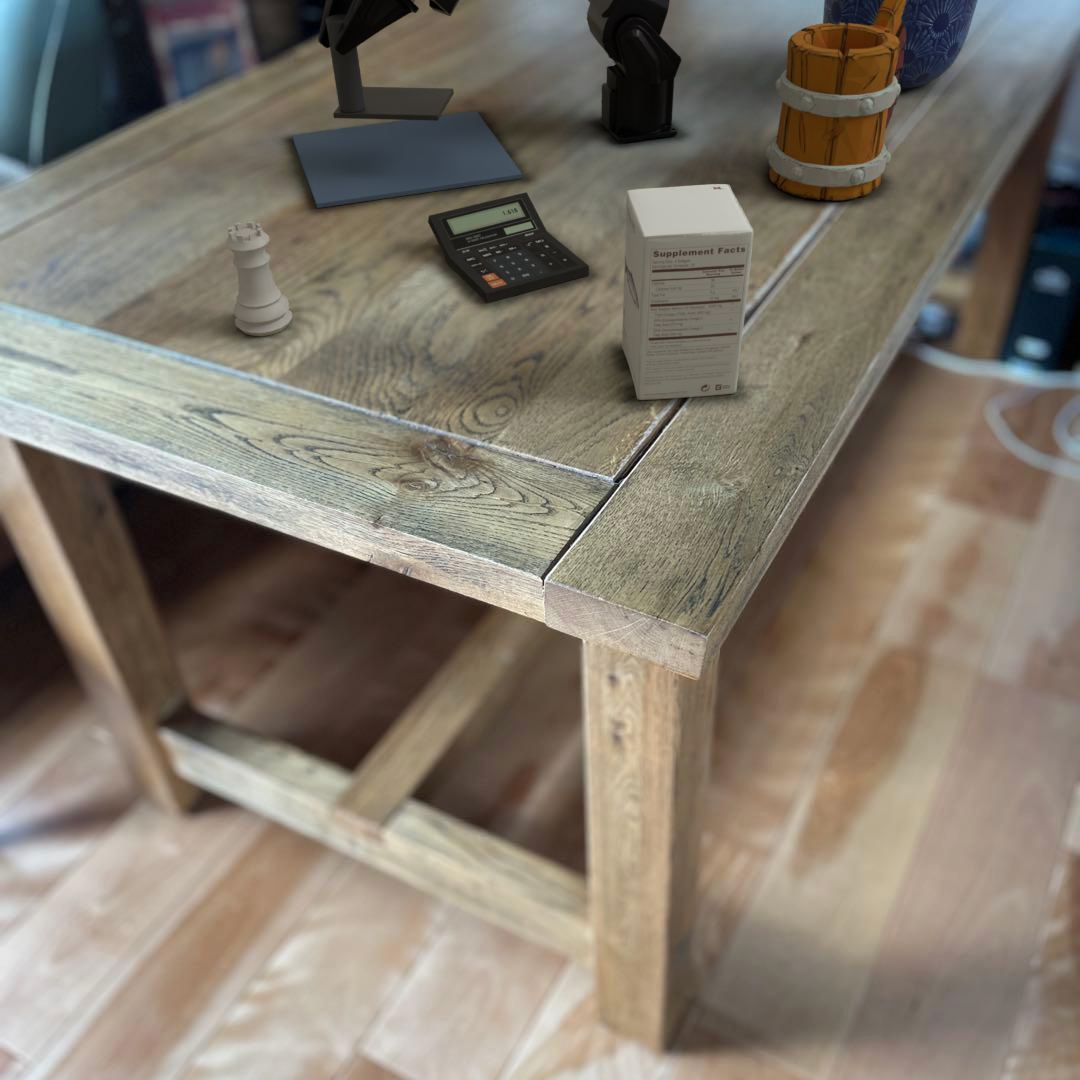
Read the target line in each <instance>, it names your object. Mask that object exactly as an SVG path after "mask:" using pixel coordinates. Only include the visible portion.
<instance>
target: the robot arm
mask: <svg viewBox="0 0 1080 1080" xmlns="http://www.w3.org/2000/svg"><path fill="white" fill-rule="evenodd" d="M415 1H416V0H325V4H324V7H323V14H322V19H321V23H320V27H319V28H320V29H319V33H318V39H317V42H318V43H319V44H320V45H321V46H322V47H324V48H325V49H330V44H329V37H328V31H327V24H326V18H327V17H329V16H331V15H336V14H347V15H346V17H345V20H344V22H343V24H342V26H341V29H340V31H339V33H338V36H337V39H336V42H335V44H334V50H335V51H337V52H338V53H339V54H340V55H345V54H347V53H348V52H350V51H351V50H353V49H354V48H356V47H357V48H358V47H359V46H360V45H362V44H363V43H364V42H366V41H368V40H369V39H370V38H372V37H374V36H375V35H376V34H378V33H379V32H381V31H382V30H384V29H386V28H387V27H389V26H391V25H392V24H394V23H396V22H397V21H399V20H401V19H403V18H404V17H406V16H408V15H410V14H411V13H413V14H416V13H418V11H419V10H420V8H419V6H418V5H417V4H415ZM587 1H588V2H589V6H588V8H587V12H586V21H587V25H588V28H589V32H590V33H591V35H592V36H593V38H594V39H595V40H596V42H597V43H598V44H599V46H600V47H601V48H602V49H603V50H604V52H605V53H606V55H607V56H608V58H609V59H611V60H612V61H613V62H614V64H613V65H608V66H606V82H603V83H602V85H601V112H600V113H601V114H600V115H601V117H600V124H602V126H603V127H604V128H605V129H606V130H607V131H608V132H609V133H610V134H611V136H613V137H614V138H615V139H616V140H617V141H618V142H619V143H628V142H636V141H642V140H643V141H644V140H650V139H651V140H652V139H658V138H665V137H671V136H676V135H678V133H679V129H678V128H677V127H676V126H675V125H674V124H673V112H674V111H673V109H674V108H673V107H674V92H675V91H674V90H675V79H676V76H677V74H678V71H679V67H680V65H681V63H682V57H681V56H680V55H679V53H678V52H676V51H675V50H674V49H673V47H672V46H671V45H670V44H669V43H668V42H667V41H666V40H665V39H664V38H663V36H661V34H662V30H663V28H664V25H665V22H666V19H667V15H668V14H669V13H668V12H669V8H670V2H671V1H670V0H587ZM459 2H460V0H428V5H429V7H430V8H431V9H432V11H435V12H438V13H439V14H442V15H445V16H448V17H451V16H452V14H453V12H454V11H455V10H456V7H457V5H458V4H459Z"/></svg>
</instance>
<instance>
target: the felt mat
mask: <svg viewBox="0 0 1080 1080" xmlns="http://www.w3.org/2000/svg"><path fill="white" fill-rule="evenodd" d="M291 139H292V142H293V144H294V148H295V151H296V153H297V156H298V158H299V162H300V164H301V168H302V170H303V173H304V176H305V178H306V181H307V184H308V187H309V189H310V193H311V195H312V198H313V201H314V203H315V206H316V209H322V208H329V207H335V206H336V207H337V206H343V205H344V206H345V205H350V204H356V203H364V202H369V201H370V202H371V201H377V200H383V199H391V198H398V197H404V196H413V195H419V194H425V193H433V192H438V191H445V190H446V191H447V190H453V189H459V188H467V187H473V186H481V185H488V184H494V183H500V182H508V181H514V180H515V181H516V180H522V179H523V172H522V171H521V170H520V168H519V167H518V166H517V164H516V163H515V162H514V161H513V159H512V157H511V156H510V155H509V154H508V152H507V150H506V149H505V147H503V145H502V144H501V143H500V141H499V140H498V138H497V137H496V136H495V134H494V133H493V132H492V130H491V129H490V128H489V126H488V125H487V123H486V122H485V120H484V119H483V118H482V117H481V115H480V114H479V112H478V111H477V110H472V111H464V112H456V113H449V114H441V116H440V118H439V120H438V121H434V120H394V121H387V122H381V123H380V122H379V123H373V124H365V125H357V126H351V127H350V126H349V127H342V128H333V129H327V130H320V131H311V132H304V133H303V132H302V133H296V134H295V133H294V134H292V135H291Z"/></svg>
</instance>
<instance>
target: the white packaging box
mask: <svg viewBox="0 0 1080 1080" xmlns="http://www.w3.org/2000/svg"><path fill="white" fill-rule="evenodd" d="M625 209H626V210H625V242H624V270H623V298H622V299H623V301H622V302H623V303H622V304H623V305H622V329H621V331H622V337H621V348H622V351H623V353H624V356H625V358H626V361H627V364H628V367H629V371H630V375H631V379H632V382H633V386H634V390H635V395H636V400H638V401H639V400H640V401H646V400H647V401H650V400H652V401H653V400H667V399H681V398H697V397H711V396H722V395H733V394H736V393H737V387H738V380H739V371H740V359H741V350H742V343H743V333H744V325H745V318H746V317H745V316H746V308H747V307H746V306H747V299H748V291H749V281H750V275H751V274H750V273H751V264H752V256H753V255H752V254H753V245H754V244H753V243H754V234H755V233H754V228H753V227H752V225H751V223H750V221H749V219H748V217H747V216H746V213H745V212H744V210H743V208H742V206H741V204H740V202H739V201H738V199H737V197H736V196H735V193H734V191H733V190H732V188H731V185H730V184H728V183H727V184H726V183H725V184H724V183H718V184H717V183H714V184H713V183H710V184H708V183H707V184H695V185H694V184H693V185H680V186H666V187H651V188H650V187H647V188H635V189H634V188H633V189H628V190H626V207H625Z"/></svg>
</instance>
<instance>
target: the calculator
mask: <svg viewBox="0 0 1080 1080" xmlns="http://www.w3.org/2000/svg"><path fill="white" fill-rule="evenodd" d="M427 223H428V225H429V227H430V229H431V231H432V233H433V235H434V237H435V239H436V241H437V243H438V246H439V247H440V249H441V251H442V253H443V255H444V257H445V259H446V261H447V263H448V266H449V267H450V268H451V269H452V270H453V271H454V272H455V273H456V274H457V275H459V277H461V279H462V280H463V281H464V282H465V283H466V284H467V285H469V287H470V288H471V289H473V291H474V292H476V294H477V295H478V296H479V297H480V298H481V299H483V301H484V302H485V303H486V304H489V303H493V302H496V301H499V300H503V299H507V298H511V297H514V296H517V295H518V296H519V295H522V294H525V293H529V292H533V291H537V290H540V289H544V288H547V287H552V286H555V285H558V284H561V283H566V282H569V281H573V280H576V279H580V278H585V277H587V276H589V275H590V266H589V265H588V264H587V263H586V262H585V261H584V260H582V258H580V257H579V256H578V255H576V254H575V253H574V252H573V251H572V250H570V249H569V248H568V247H566V246H565V244H563V243H562V242H560V240H558V239H557V238H556V237H555V236H553V235H552V234H551V233H550V232H548V230H547V228H546V227H545V224H544V222H543V220H542V218H541V217H540V215H539V213H538V211H537V210H536V208H535V205H534V203H533V202H532V200H531V198H530V196H529V194H528V191H526V192H522V193H517V194H514V195H509V196H504V197H501V198H496V199H493V200H488V201H484V202H480V203H475V204H471V205H468V206H467V205H466V206H464V207H460V208H459V207H458V208H455V209H451V210H447V211H443V212H439V213H435V214H429V215H428V219H427Z"/></svg>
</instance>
